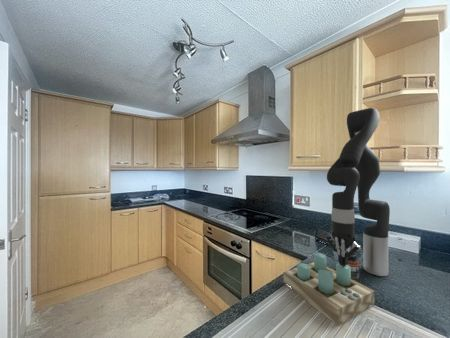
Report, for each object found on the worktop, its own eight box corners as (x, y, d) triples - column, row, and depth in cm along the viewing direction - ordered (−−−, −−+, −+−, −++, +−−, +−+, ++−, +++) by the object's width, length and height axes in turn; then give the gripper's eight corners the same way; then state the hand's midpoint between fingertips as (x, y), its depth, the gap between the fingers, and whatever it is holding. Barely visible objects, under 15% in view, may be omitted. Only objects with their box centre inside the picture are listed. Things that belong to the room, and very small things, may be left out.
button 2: (319, 265, 86) (319, 252, 86) (329, 270, 81) (329, 256, 81) (311, 268, 84) (311, 254, 84) (321, 273, 79) (321, 259, 79)
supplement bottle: (344, 274, 88) (343, 249, 88) (359, 279, 84) (359, 253, 84) (341, 280, 83) (341, 254, 83) (358, 285, 79) (358, 258, 79)
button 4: (341, 276, 77) (341, 262, 77) (353, 283, 72) (353, 267, 72) (333, 280, 75) (333, 264, 75) (345, 287, 70) (345, 270, 70)
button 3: (324, 283, 72) (324, 268, 72) (336, 291, 68) (336, 274, 68) (315, 287, 70) (315, 271, 70) (327, 295, 66) (327, 278, 66)
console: (316, 271, 90) (316, 260, 90) (374, 304, 68) (374, 289, 68) (283, 283, 81) (283, 271, 81) (338, 325, 60) (338, 308, 60)
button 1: (303, 276, 81) (302, 262, 81) (312, 282, 77) (312, 267, 77) (294, 279, 79) (294, 264, 79) (303, 285, 75) (303, 270, 75)
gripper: (367, 223, 69) (367, 271, 69) (333, 214, 81) (333, 256, 81) (354, 226, 66) (355, 276, 66) (320, 217, 78) (320, 259, 78)
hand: (342, 265), depth 73 cm, fingers closed
